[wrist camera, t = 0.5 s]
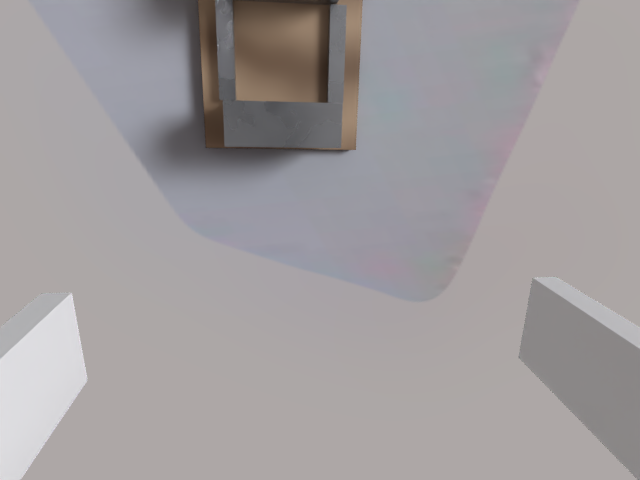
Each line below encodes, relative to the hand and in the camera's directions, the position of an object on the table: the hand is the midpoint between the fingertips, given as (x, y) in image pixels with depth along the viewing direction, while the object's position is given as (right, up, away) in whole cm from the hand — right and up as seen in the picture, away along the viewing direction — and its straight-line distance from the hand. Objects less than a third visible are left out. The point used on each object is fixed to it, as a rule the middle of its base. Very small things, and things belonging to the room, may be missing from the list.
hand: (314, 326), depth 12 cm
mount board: (-3, +17, +21) cm, 27 cm away
